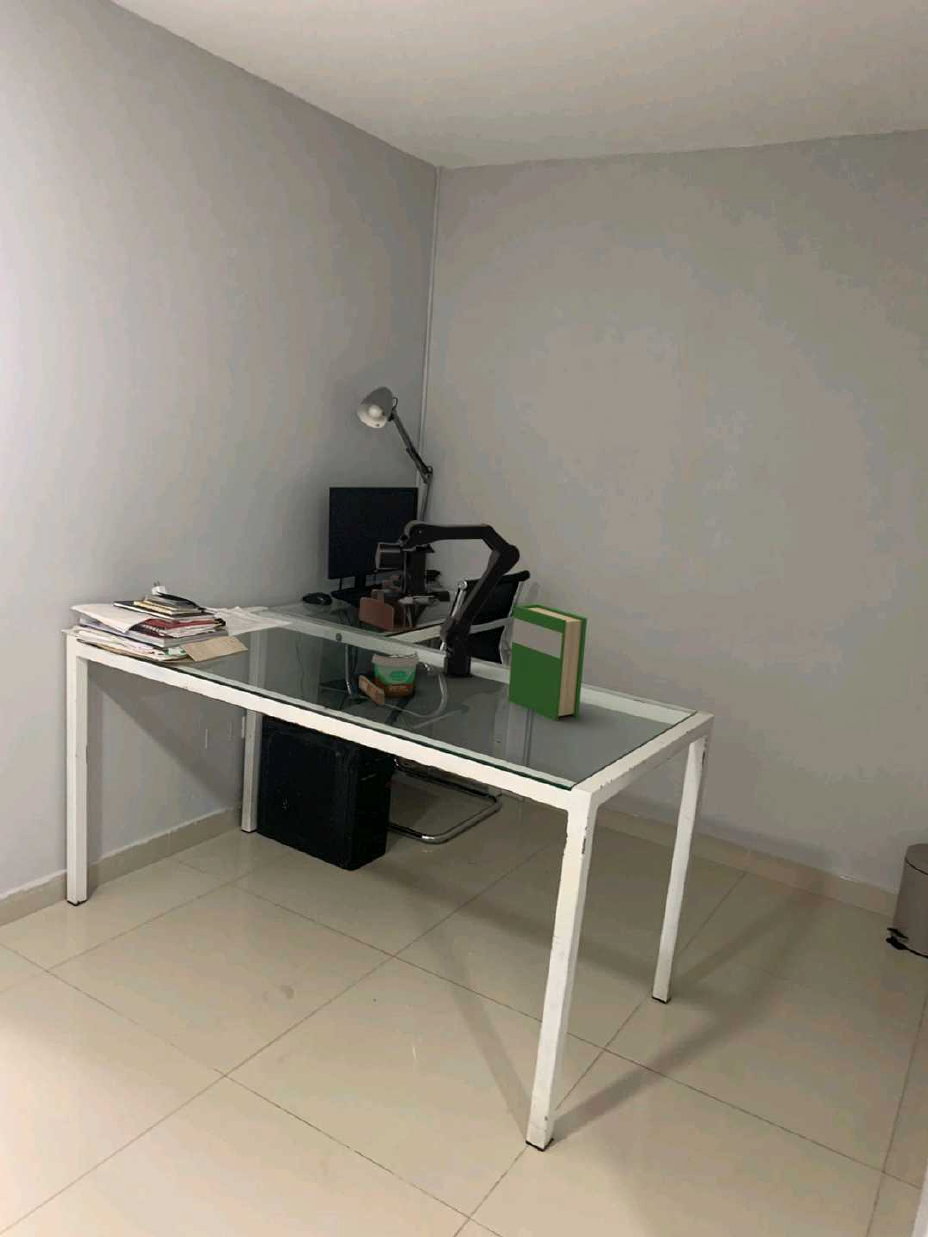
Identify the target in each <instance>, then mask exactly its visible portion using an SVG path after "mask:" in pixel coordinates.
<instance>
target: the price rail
mask: <svg viewBox="0 0 928 1237" xmlns="http://www.w3.org/2000/svg"><path fill="white" fill-rule="evenodd" d="M358 679H359V681H358V688H359V689H360V690H361V691H363V692H364V693H365V694H366V695H367V696H368V697H369V698H371V700H372V701H374V702H375V703H376V704H377V705H378V706H379V707H384V706H385V697H386V696H385V694H384V693H383V692H382V691H381V690H380V689H379V688H377V687H376V684H375V683H373V682H372V681H370V680H369V679H368V678H367V677H366V676H364V675H359V678H358Z"/></svg>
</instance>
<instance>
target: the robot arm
mask: <svg viewBox="0 0 928 1237" xmlns="http://www.w3.org/2000/svg"><path fill="white" fill-rule="evenodd" d="M403 532H404V533H403V534H402V535H400V538H399V539H398V540H397V541H396V542H395V543H390V542H389V543H386V542H378V543H377V544H378V545H377V549H376V553H375V567H376V570H399V569H400V568H401V567H403V566H404V569H403V570H404V571H402V573H401V574H402V575H401V577H399V575H398V574H392V575H389V581H390V587H391V588H396V589H397V592H396V591H395V590H393V589H383V588H382V589H378V590H379V591H378V593H377V600H379V601H381V602H382V603H385V604H392V603H397V602H398V603H400V604H402V605H403V606H404V608H405V611H406V613H407V616H408V620H409V623H410V627H411V628H415V626H416V624H417V625H418V622H419V620H420V619H421V616H422V615H423V613H424V612H425V609H426V608H427V607H428V606H429V607H430V606H431V603H430V602H429V599H436V600H438V602H439V603H449V602H451V593H450V591H449V590H447V589H445V588H443V587H433V588H432V587H430V588H429V590H427V589H426V585H427V581H426V580H427V579H428V578H429V575H428V574H427V564H428V560H427V559H428V554H435V553H436V550H434V548H433V547H432V546H431V544H433V543H436V542H439V541H450V540H452V541H455V540H456V541H458V540H461V541H462V540H482V542H484V544H485V545H486V546H487V547H488V548H489V549H490V551H491V552H490V555H489V558H488V562H487V564H486V568H485V571H484V572H483V574H482V575H481V576H480V578H479V580H477V583H476V584H475V585H474V588H473V589H472V591H471V592H470V594H469V595H468V596H467V598H466V600H465V601H464V603H463V604H462V606H461V607H460V609H459V611H457V612H456V613H455V614H454V615H453V616H452V615H450V614H447V616H446V617H445V619H444V621H443V622H442V624H440V625H439V627H440V630H439V633H438V634H439V638H440V640H441V641H442V643H443V644H445V647H446V649H448V650H446V651H445V656H444V657H443V669H442V672H443V673H444V674H446V675H447V676H449V677H450V678H459V677H460V678H462V677H472V676H473V677H474V673H472V671H471V668H472V666H471V665H472V654H473V652H474V650H475V648H474V647H473V645H471V643H469V642H468V641H467V640H468V638H469V635H470V633H471V628H472V624H473V621H474V619H475V618H476V617H477V615H478V613H479V612H480V610H481V609H482V607H483V605H484V604H485V602H486V601H487V599H488V598H489V597H490V595H491V593H492V591H493V590H494V589H495V588H496V586H497V584H498V582H499V581H500V579H501V578H502V577H504V576H505V575H506V574H507V573H509V572H510V571H511V570H512V569H513V568H514V567H515V566H516V565H517V564H518V562H519V561H520V558H521V554H520V550H519V548H518V547H517V546H516V545H513V544H511V543H510V542H508V541H506V540H505V538H503V536H501V535H500V534H499V533H498V532H497V531H496V530H495V529H494V527H493V526H491V525H490V524H487V523H485V522H483V523H479V524H477V523H476V524H439V523H437V524H436V523H432V522H427V521H421V520H417V519H416V520H410V521H409V522H408V523H407V524H406V525H405V527H404V530H403ZM401 591H404V592H401ZM411 595H412V596H411ZM413 599H415V600H413Z"/></svg>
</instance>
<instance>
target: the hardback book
mask: <svg viewBox="0 0 928 1237" xmlns="http://www.w3.org/2000/svg"><path fill="white" fill-rule="evenodd" d="M513 614H514V615H513V628H512V629H513V630H512V642H511V656H510V669H509V670H510V671H509V672H510V673H509V682H508V683H509V684H508V685H509V686H508V697H507V698H508V699H507V701H508V702H509V701H510V702H511V703H514V704H516V705H517V706H520V707H523V708H525V709H527V710H530V711H531V712H535V713H537V714H539V715H541V716H543V717H546V718H548V719H551V720H553V721H554V722H555V721H558V720H559V717H562V716H567V715H570V716H573V717H575V718H578V717H579V713H580V703H581V694H582V693H581V691H582V680H583V668H584V667H583V666H584V656H585V647H586V645H585V644H586V634H587V622H588V618H587V617H585V616H581V615H577V614H574V613H570V612H567V611H565V610H560V609H557V608H554V607H549V606H547V605H543V604H541V603H540V604H539V603H533V604H522V605H520V604H519V605H515V606H514V613H513Z"/></svg>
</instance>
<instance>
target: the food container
mask: <svg viewBox="0 0 928 1237" xmlns="http://www.w3.org/2000/svg"><path fill="white" fill-rule="evenodd" d="M371 662H372V663H373V664H374V677H375V678H374V679H375V686H376V687H377V688H379V689H380V690H381V691H382V692H383V693H384V694H385V696H384V697H393V698H394V697H395V698H396V697H397V698H398V697H399V698H400V697H406V696H410V695H412V693H413V688H414V683H415V676H416V669H417V665H418V664H419V663H420V658H419V654H418V651H416V650H415V651H414V654H395V653H394V654H390V655H387V656H382V655H378V654H376V653H373V656H372V658H371Z"/></svg>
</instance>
